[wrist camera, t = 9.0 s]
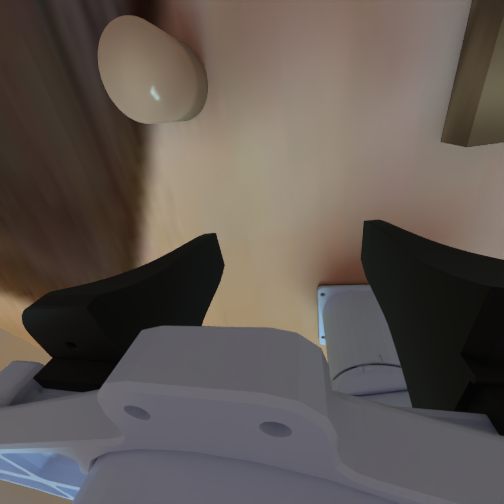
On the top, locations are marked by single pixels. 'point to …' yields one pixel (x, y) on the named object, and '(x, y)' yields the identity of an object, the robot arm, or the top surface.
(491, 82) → the walnut base
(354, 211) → the top surface
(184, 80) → the tan round piece
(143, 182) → the top surface
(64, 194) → the top surface
